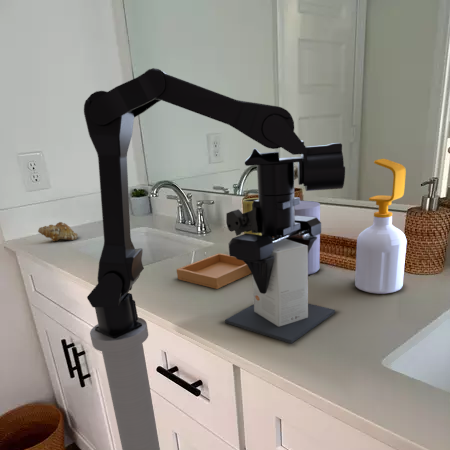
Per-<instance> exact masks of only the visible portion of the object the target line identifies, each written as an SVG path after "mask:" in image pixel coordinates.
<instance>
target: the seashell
mask: <svg viewBox="0 0 450 450" xmlns="http://www.w3.org/2000/svg"><path fill="white" fill-rule="evenodd" d="M37 233H39V234H40V235H42V236H44V237H45V238H48V239H51V240H52V242H59V241H60V240H67V241H68V240H69V241H74V240H77V239H78V237H79V235H78V233H77V232H74V230H73V229H72V228H71V227H70V226H69V225H68V224H67V223H65V222H62V221H59V222H57V223H56V224H55V225H54V224H49V225H44V226H41V227H40V226H39V228H38V230H37Z"/></svg>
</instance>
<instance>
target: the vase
mask: <svg viewBox="0 0 450 450" xmlns="http://www.w3.org/2000/svg"><path fill="white" fill-rule="evenodd" d="M255 200H259V198H258V197H251V198H245V199H242V214H243V213H246V212H249V211H251V210H252V203H253V201H255ZM246 233H247V234H255V235H261V233H252V232H251V231H248V232H246V231H245V232H243V234H246Z"/></svg>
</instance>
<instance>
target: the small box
mask: <svg viewBox="0 0 450 450" xmlns="http://www.w3.org/2000/svg"><path fill="white" fill-rule="evenodd" d="M273 248H274V249H273V252H272V254H271V256H274V262H273V266H272V271H271V276H270V281H269V285H268V289H267V292H266V293H265V294H263V293H260V292H259V289H258V287H257V285H256V282H255V280H254V278H253V277H252V292H253V304H254V312H256V313H257V314H259V315H261V316H262V317H264V318H265V319H267V320H269V321H270V322H272V323H273V324H275V325H277V326H278V327H280V326H283V325H286V324H290V323H293V322H296V321H299V320H302V319H305V318H308V304H309V275H308V246H307V245H304V244H301V243H297V242H294V241H291V240H288V239H284V240H281V241H279V242H276V243H274V244H273Z"/></svg>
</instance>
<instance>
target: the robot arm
mask: <svg viewBox="0 0 450 450" xmlns="http://www.w3.org/2000/svg"><path fill="white" fill-rule="evenodd" d="M161 101H162V102H165V103H168V104H171V105H173V106H177V107H179V108H182V109H184V110H187V111H190V112H193V113H195V114H198V115H200V116H203V117H206V118H209V119H212V120H215V121H217V122H220V123H223V124H225V125H228V126H230V127H232V128H234V129H235V130H236V131H238V132H240V133H241V134H243V135H245V136H246V137H248V138H250V139H251V140H253V141H255V142H256V143H258V144H260V145H261V146H263V147H265V148H267V149H271V150H272V149H273V150H276V149H277V150H278V149H280V148H281V149H282V150H285V151H286V152H287V153H289V154H290V155H295V156H292V157H291V156H290V157H280V152H279V151H269V152H260V151H259V150H258V149H257V148H254V147H253V149H252V152H251V154H250V156H248V158H246V159H245V161H244V165H245V166H246V167H249V166H251V167H253V166H256V173H257V174H256V175H257V195H258V197H257V198H259V200H255V201H253V203H252V210H251V211H249V212H246V213H243V211H242V210H240V209H234V210H231V211H229V212H226V215H225V216H226V217H225V219H226V220H225V221H226V228H227V229H228V231H229V232H230V233H232V232H234V233H235V235H236V236H235V237H232V238H231V240H230V241H229V242H228V255H230V256H233V257H236V259H238V260H242V261H243V262H245V263H246V264H247V266H248V267H249V269H250V271H251V275H252V279H253V278H254V280H255V282H256V285H257V287H258V289H259V292H260V293H263V294H265V293H266V292H267V289H268V285H269V281H270V276H271V271H272V266H273V262H274V256H271V254H272V252H273V249H274V248H273V244H274V243H276V242H279V241H281V240H284V239H288V240H291V241H294V242H297V243H301V244H304V245H307V246H308V253H309V251H310V249H311V247H312V245H313V243H314V241H315V240H317V236H316V235H319V234H320V235H321V234H322V222H321V220H320V221H319V220H318V218H317V217H306V216H295V205H298V204H300V201H301V197H296V196H295V163H297V184H298V185H299V186H300V185H303V187H304V189H305V192H312V191H324V190H325V191H327V190H340V189H341V190H342V189H343V188H344V186H345V181H346V180H345V179H346V166H345V163H344V162H345V161H344V155H343V154H344V153H343V144H342V143H341V142H333V143H328V144H325V145H324V144H323V145H322V144H321V145H309V146H308V145H307V146H306V145H305V141H304V140H301V139H300V137H299V136H298V135H297V133H296V132H295V120H294V119H293V116H292V114H291V113H290V111H288V110H287V109H285V108H284V107H281V106H277V105H272V104H265V103H259V102H251V101H244V100H238V99H235V98H233V97H229V96H227V95H225V94H221V93H219V92H216V91H213V90H211V89H208V88H205V87H203V86H199V85H197V84H195V83H192V82H189V81H186V80H184V79H182V78H178V77H176V76H173V75H170V74H168V73H167V72H165V71H163V70H161V69H159V68H155V67H153V68H149V69H146V71H145V72H143V73H142V74H140V75H138V76H137V77H135V78H132V79H130V80H128V81H126V82H124V83H121V84H119V85H117V86H115V87H114V88H112V89H110V90H108V91H107V90H96V91H94V92H93V93H91V94H90V95H89V96H88V97H87V99H86V100H85V101H84V104H83V115H84V119H85V123H86V127H87V132H88V137H89V138H90V140H91V142H92V145H93V148H94V149H95V152H96V155H97V162H98V173H99V174H98V177H99V189H100V202H101V215H102V229H103V230H102V231H103V247H102V250H101V254H100V258H99V261H98V269H97V284H96V285H95V286H94V287H93V289H92V290H91V291H90V293H89V294H88V295H87V296H86V298H87V300H88V302H89V304H90V305H91V307H92V308H94V311H95V315H96V321H97V324H98V325H99V326H97V327H95V331H97V332H100V333H102V334H104V335H106V336H108V337H111V338H113V339H114V338H118V337H120V336H122V335H124V334H126V333H128V332H130V331H133V330H135V329H137V328H139V327H141V326H142V323H140V322H137V320H138V317H139V316H138V311H137V305H136V300H134V298H133V294H132V293H130V291H132V289H133V286H134V284H135V283H136V282H137V281H138V279H139V277H141V276H140V275H141V273H142V272H143V270H144V269H145V267H144V265H143V261H142V259H143V248H135V246H134V243H133V241H132V238H131V218H130V215H131V214H130V197H129V196H130V195H129V177H128V175H129V174H128V151H129V147H130V144H131V140H132V136H133V129H134V122H135V118H137V117H138V116H140V115H142V114H143V113H145V112H147V111H148V110H149V109H150V108H152V107H153V106H155V105H157V103H159V102H161ZM296 155H300V156H296ZM245 231H246V232H248V231H251V232H252V233H261V235H255V234H247V233H246V234H244V232H245ZM242 233H243V234H242Z"/></svg>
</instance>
